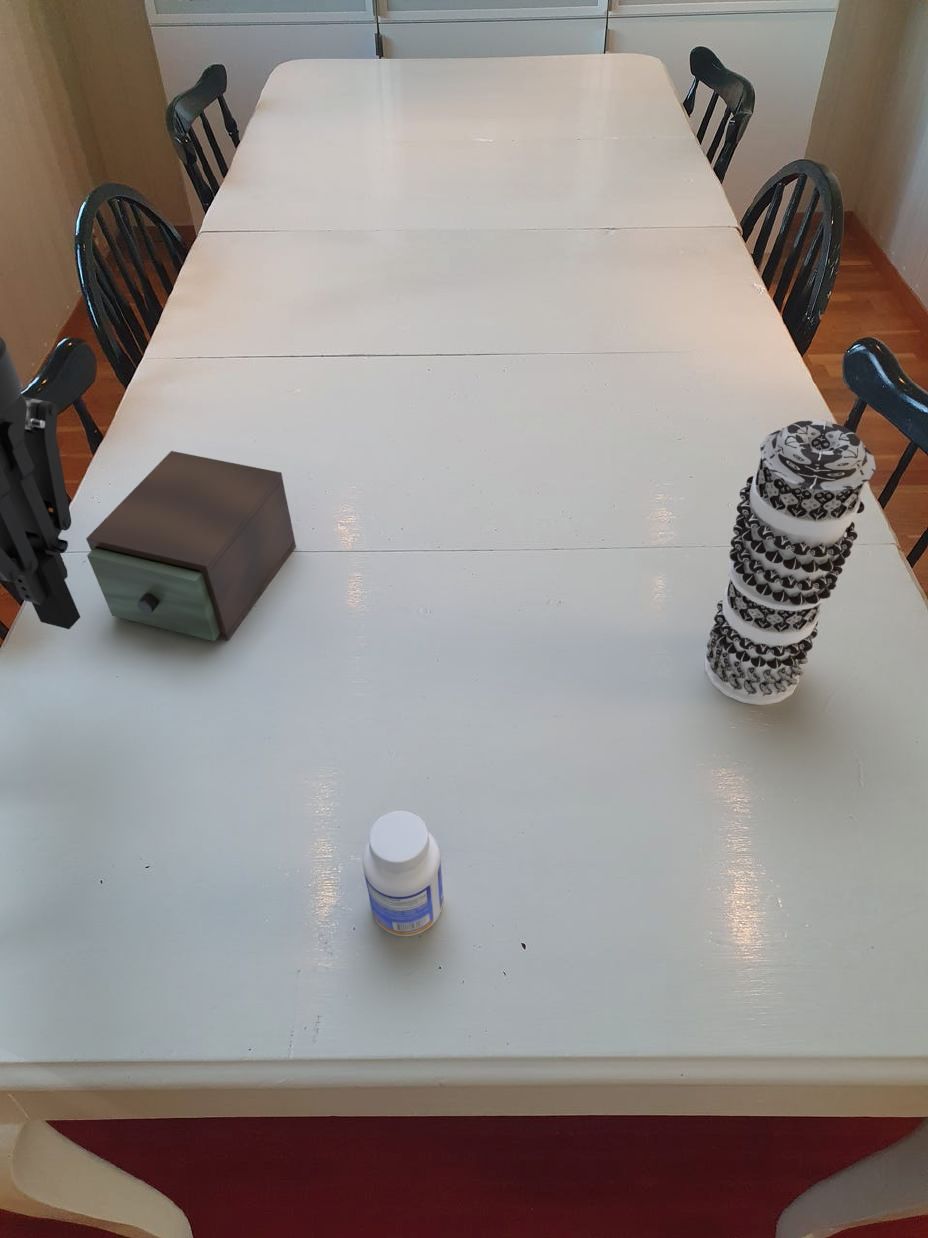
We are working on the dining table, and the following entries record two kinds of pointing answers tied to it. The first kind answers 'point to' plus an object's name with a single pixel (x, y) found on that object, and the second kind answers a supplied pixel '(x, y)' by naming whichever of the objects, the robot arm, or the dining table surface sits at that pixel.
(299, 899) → the dining table surface
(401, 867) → the pill bottle
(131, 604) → the drawer
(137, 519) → the cabinet
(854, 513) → the decorative candle
